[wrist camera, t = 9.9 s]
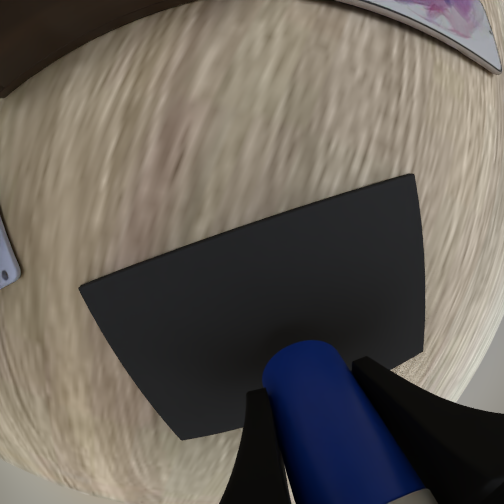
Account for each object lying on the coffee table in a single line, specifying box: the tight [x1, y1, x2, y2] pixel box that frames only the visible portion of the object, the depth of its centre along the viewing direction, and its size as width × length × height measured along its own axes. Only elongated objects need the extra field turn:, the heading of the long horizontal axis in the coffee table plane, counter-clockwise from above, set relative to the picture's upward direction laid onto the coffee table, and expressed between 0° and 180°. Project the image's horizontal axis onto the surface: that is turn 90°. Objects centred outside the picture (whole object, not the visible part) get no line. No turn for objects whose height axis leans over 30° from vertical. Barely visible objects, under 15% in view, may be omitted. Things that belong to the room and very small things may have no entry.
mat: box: [78, 174, 425, 440], centre depth 13 cm, size 16×11×1 cm
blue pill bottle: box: [262, 340, 438, 504], centre depth 7 cm, size 3×3×8 cm
